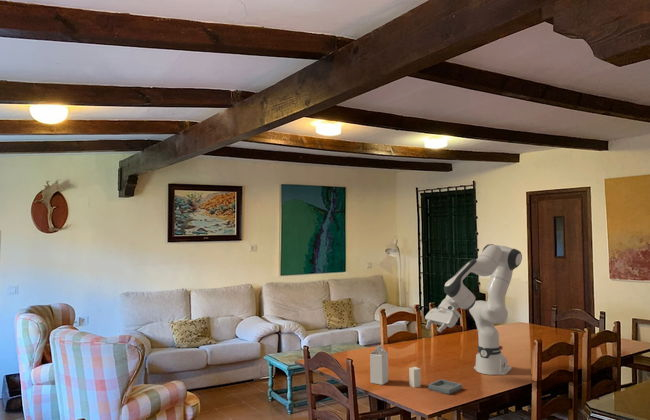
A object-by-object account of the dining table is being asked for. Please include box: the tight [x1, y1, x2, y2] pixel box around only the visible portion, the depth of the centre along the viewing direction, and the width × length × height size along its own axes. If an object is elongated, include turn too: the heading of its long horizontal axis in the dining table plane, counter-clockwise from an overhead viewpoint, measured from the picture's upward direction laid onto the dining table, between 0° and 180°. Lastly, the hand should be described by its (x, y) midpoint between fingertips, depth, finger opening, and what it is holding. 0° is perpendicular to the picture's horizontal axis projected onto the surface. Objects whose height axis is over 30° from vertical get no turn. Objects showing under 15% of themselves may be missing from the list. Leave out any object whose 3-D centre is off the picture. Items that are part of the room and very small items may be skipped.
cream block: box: [408, 366, 421, 388], centre depth 252 cm, size 4×4×9 cm
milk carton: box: [369, 344, 389, 386], centre depth 259 cm, size 7×7×19 cm
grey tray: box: [427, 378, 463, 396], centre depth 246 cm, size 12×12×2 cm
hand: (432, 329), depth 258 cm, fingers open, 8 cm apart
